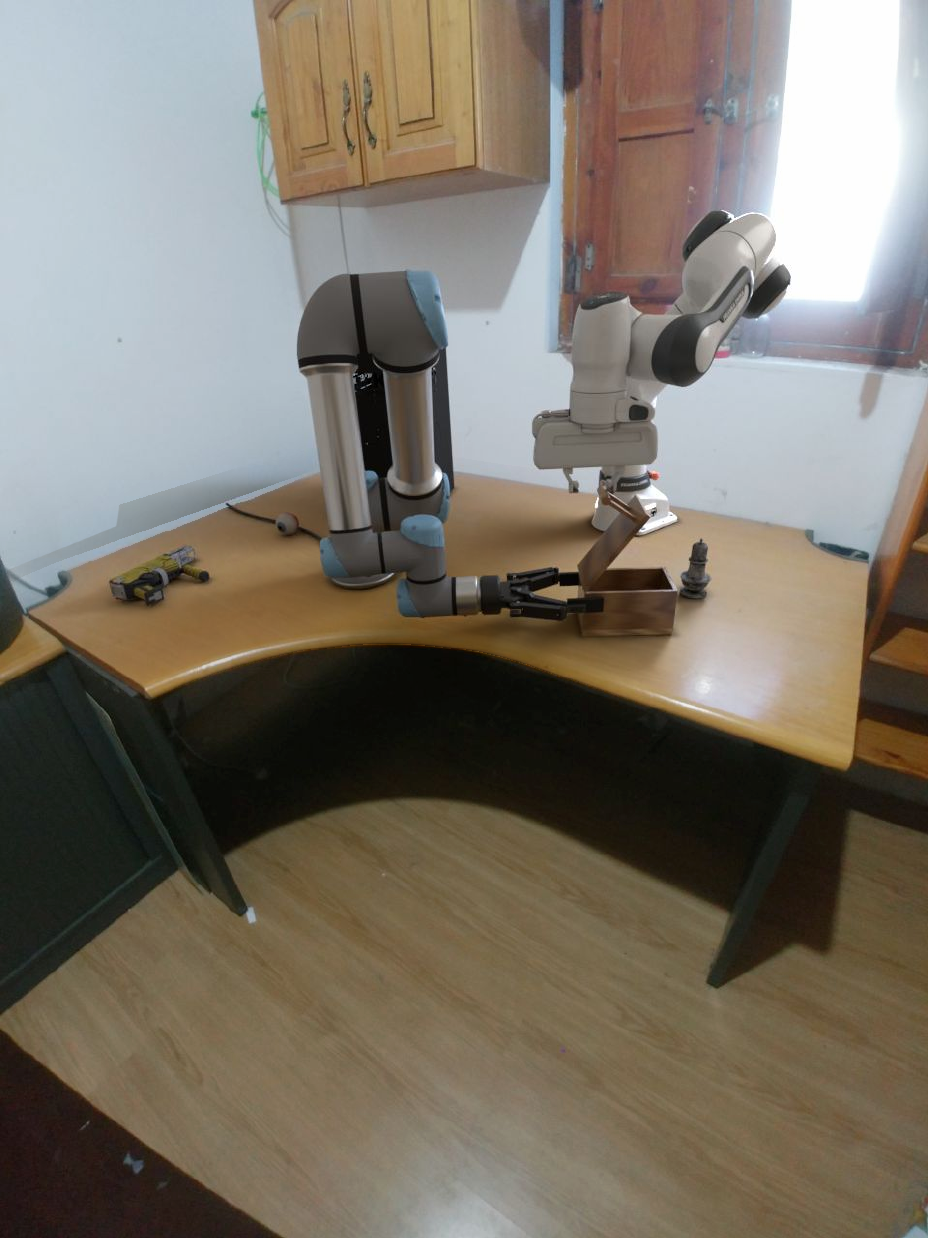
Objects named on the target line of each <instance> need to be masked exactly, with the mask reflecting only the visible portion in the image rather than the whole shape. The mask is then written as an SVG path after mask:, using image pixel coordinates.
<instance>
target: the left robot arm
mask: <svg viewBox="0 0 928 1238" xmlns="http://www.w3.org/2000/svg"><path fill="white" fill-rule="evenodd" d="M442 299H443V298H442V294H441V289H440V284H439V280H438V278H437V276H436V275H435V274H434V273H433V272H432V271H430V270H411V269H410V268H409V269H408V268H407V269H406V270H395V271H383V272H382V271H380V272H366V273H341V274H337V275H334V276H332V277H330V278H328V279H327V280H325V281H324V282H323V283H322V284H320V286H318V287H317V288H316V290H315V291H314V292H313V293H312V295H311V297H310V298H309V300H308V301H307V304H306V305H305V307H304V309H303V313H302V316H301V318H300V322H299V326H298V331H297V335H296V337H297V338H296V359H297V366H298V372H299V373H300V374H301V375H302V376H303V377H305V379H306V382H307V390H308V397H309V404H310V409H311V411H310V412H311V417H312V423H313V430H314V437H315V443H316V450H317V458H318V465H319V470H320V479H321V484H322V485H321V486H322V491H323V496H324V497H323V498H324V499H323V500H324V506H325V511H326V518H327V527H328V532H329V533H328V534H329V536H327V537H323V538H322V537H321V536H320V535H318V534H316V533H315V532H314V531H311V530H309V529H307V528H304V527H302V526H299V527H298V529H297V530H299V531H302V532H304V533H306V534H309V535H310V536H313V538H316V539H317V540H319V557H320V563H321V569H322V572H323V574H324V575H325V577H326V578H329V579H330V581H331V583H332V584H334V585H335V586H336V587H339V588H343V589H345V590H346V589H348V590H365V589H371V588H375V587H379V586H382V585H384V584H387V583H388V582H390V581H391V580H392V579H394V578H395V577H396V575H397V574H398V573H399V574H400V573H405V576H406V577H405V578H400V579H399V580H398V581H397V583H396V603H397V610H398V613H399V615H400V616H401V617H403V618H413V619H415V618H416V619H417V618H418V619H419V618H420V619H426V618H442V617H443V618H444V617H465V618H466V617H468V616H478V615H479V614H480V613H481V615H483V616H497V615H498V616H499V615H501V613H502V609H507V610H509V617H510V618H513V619H516V618H527V619H537V620H547V621H556V622H565V621H566V620H568V615H570V614H578V613H595V612H603V608H604V597H592V598H578V597H570V598H566V600H562V599H557V598H552V597H549V596H543V595H538V594H535V592H538V591H540V590H544V589H547V588H550V587H553V586H555V585H558V586H559V588H560V587H578V579H579V572H578V571H564V572H563V571H561V572H560V568H559V567H557V566H555V567H553V566H550V567H543V568H538V569H531V570H526V571H520V572H507V573H506V576H505V578H506V579H505V580H504V581H501V577H500V575H498V574H491V575H488V574H487V575H486V574H485V575H482V576H480V578H478V576H477V575H464V576H448V575H447V561H446V541H445V536H444V527H443V525H445V523H447V520H448V518H449V513H450V506H451V504H450V502H451V501H450V498H451V497H450V495H451V493H450V488H449V480H448V477H447V475H446V474H445V473H442V472H441V469H440V468H439V466H438V465H437V464H436V463H435V461H434V434H433V406H432V378H431V370H432V367H433V366H434V365H435V364H436V363H437V362H438V360H439V349H440V350H443V348H446V349H447V348H448V346H449V335H448V328H447V323H446V322H447V321H446V316H445V309H444V305H443V304H444V303H443V300H442ZM369 353H372V356H373V361H374V363H375V364H376V366H377V367H379V368H380V369H381V370H383V375H384V385H385V394H386V403H387V413H388V422H389V431H390V440H391V450H392V459H393V465H392V466H391V468H390V469H389V471H388V475H387V477H386V478H378V476H377V475H376V473H375V472H374V471H365V469H364V461H363V453H362V445H361V437H360V429H359V421H358V413H357V405H356V397H355V389H354V383H355V380H354V381H353V379H354V378H353V375H355V374H354V373H355V372H356V370H357V369H358V363H357V354H369ZM225 505H226V506H227V507H228V508H229V509H231V510H232V511H235V512H236V513H239V514H241V515H244V516H247V517H250V518H254V519H258V520H262V521H267V522H269V523H270V522H271V523H274V524H276V519H273V518H268V517H265V516H260V515H257V514H252V513H249V512H246V511H244V510H240V509H238V508H236V507H234V506H233V505H231V504H230V503H229V502H225ZM396 530H400V531H396Z"/></svg>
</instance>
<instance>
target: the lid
mask: <svg viewBox="0 0 928 1238" xmlns="http://www.w3.org/2000/svg"><path fill="white" fill-rule="evenodd" d="M596 491H597V495H598V497H600V499H601V502H602V504H603V505H610V506H611V507H613V508H614V509H616V510H617V511H619V512H620V514H619V515H618V516H617V517H616V519H615V520H614V521H613V522H612V524H611V525H610V526H609V527H608V528H607V530H606V531H603V533H602V535H600V537H599V538H598V539H597V540H596V542H595V543H594V544H593V545H592V546H591V548H590V549H589V550H588V551H587V552H586V554H585V555H584V556H583V557H582V559H581V560H580V561H579V562H578V564H576V566H577V567H576V568H577V572H579V576H580V580H581V585H582V589H583V590H584V591H586V592H587V591H588V590H589V589H590V588H591V586H592V585H593V584H594V583H595V582H596V581H597V579H598V578H599V577H600V576H601V575H602V574H603V572H604V571H605V570H606V569H607V568H609V567H610V566H611V565H612V563H613V562H614V561H615V560H616V559H617V558H618V556H619V555H620V554H621V553H622V551H623V550H624V549H625V548H626V547H627V546H628V545H629V544H630V542H631V541H632V540H633V539H634V538H635V536H637V535H636V534H637V533H638V532H639V530H640V529H641V528H642V527H643V526H644V525H645V523H646V522H647V521H648V520H649V519H650V518H651V517H650V515H649V513H648V511H647V510H646V508H645V506H644V504H643V502H642V501H641V499H640V497H639V496H637V495H636V494H635V496H634V497H633V498H632V499H631V500H630V502H629V503H628V504H625V503H624V502H622V501H621V500H619V499H618V498H617V497H615V496H614V495H612V494H611V493H609V492H607V490H606V487H605V486H603V485H601V486H599V485H598V487H597V488H596ZM611 500H613V501H614V502H616V503H617V504H619V505H620V506H622V507H623V508H624V509H623V508H621V507H620V506H618V505H617V504H615V503H614V502H612V501H611Z"/></svg>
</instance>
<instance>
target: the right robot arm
mask: <svg viewBox="0 0 928 1238" xmlns="http://www.w3.org/2000/svg"><path fill="white" fill-rule="evenodd" d="M777 243H778V232H777V228H776V226H775V224H774V222H773V221H772V220H771V219H770V218H769V217H768V216H767V215H765V214H762V213H759V212H749V213H745V214H743V215H740V216H737V217H736V218H734V214H731V213H730V212H728V211H725V210H723V209H717V210H716V209H715V210H711V211H710V212H709V213H707V214H706V215H705V216H703V217H702V218H700V219H699V220H697V222H695V224H694V225H693V226H692V228H691V229H690V230H689V232H688V234H687V235H686V239H685V240H684V243H683V245H682V249H681V250H682V251H681V256H682V259H683V261H684V265H683V267H682V274H681V285H682V286H681V287H682V290H683V291H682V293H681V294H680V295H679V296H678V297H677V299H676V300H674V302H673V303H672V304H671V306H670V307H669V308H668V309H667V310H666V311H665V313H664V314H655V313H654V314H653V313H652V314H649V313H643V312H642V311H640V310H638V309H636V308H635V307H634V306H632V304H631V300H630V299H631V298H630V296H629V294H628V293H626V292H623V291H607V292H602V293H596V294H593V295H590V296H588V297H586V298H584V299H583V300H582V301H581V302H580V303H579V304H578V307H577V309H576V313H575V317H574V323H573V327H572V337H571V350H570V351H571V355H570V362H571V366H572V379H571V382H570V386H569V406H568V407H569V408H567V409H555V410H549V409H546V410H542V411H541V412H540V413H538V414H536V415H535V416H534V418H532V422H531V434H532V436H533V438H534V444H533V454H532V461H533V464H534V465H535V466H536V468H537V469H538V470H542V471H543V470H561V469H562V473H563V475H564V477H565V478H566V480H567V482H568V493H569V494H579V488H580V483H579V481H578V480H573V479H572V476H571V475H573V474H574V469H583V468H600V470H599V474H598V487H599V486H601V485H603V486H605V487H606V490H607V492H609V493H611V494H612V495H614V496H615V497H617V498H618V499H619V500H621V501H622V502H624V503H625V504H628V503H629V502H630V500H631V499H632V498H633V497H634V496H635V494H636V495H637V496H639V497H640V499H641V501H642V502H643V504H644V506H645V508H646V510H647V511H648V513H649V515H650V517H651V518H650V519H649V520H648V521H647V522H646V523H645V525H644V526H643V527H642V528H641V529H640V530H639V532H638V533H637V534H636V535H635V536H645V535H646V534H650V533H652V532H654V531H657V530H660V529H662V528H665V527H668V526H670V525H672V524H675V523H677V522H678V516H677V515H676V514H675V513H674V512H672V511H670V503H669V502H670V501H669V498H668V497H667V496H666V495H665V494H664V493H663V492H661V491H660V490H659V489H658V488H656V487H655V486H654V485H652V483H651V480H653V481H658V479H659V478H660V473H659V472H657V471H654V470H651V471H649V470H648V469H647V466H648V465H652V464H654V462H655V461H656V460H657V458H658V452H659V451H658V450H659V448H658V447H659V434H658V427H657V425H656V424H655V423H654V419H655V416H656V407H657V401H658V400H657V399H658V395H660V393H661V392H663V390H664V389H665V388H666V387H667V386H668V385H670V386H673V387H680V388H686V387H690V386H692V385H693V384H695V383H696V382H697V381H699V380H700V379H701V378H702V377H703V376H704V375H706V373H707V372H708V371H709V370H710V367H712V365H713V362H714V360H715V357H716V356H717V353H718V350H719V349H720V347H721V346H722V344H723V343H724V342H725V340H726V339H727V337H728V336H729V334H730V333H731V332H732V330H733V329H734V327H735V326H736V324H737V323H738V322H739V320H740V318H741V317H742V318H744V319H747V320H754V319H759V318H760V317H762V316H765V315H766V314H768V313H770V312H771V311H773V310H774V309H775V308H776V307H777V306H779V304H780V303H781V302H782V300H783V299H784V297H785V296H786V294H787V292H788V289H789V287H790V286H791V285H792V281H793V280H792V279H793V274H792V272H791V270H790V269H789V267H788V266H787V264H786V262H782V261H781V260H780V258H779V257H778V256H777V254H776V253H775V250H776V248H777ZM611 501H612V502H614V501H613V500H611ZM614 503H615V504H617V503H616V502H614ZM617 505H618V506H620V505H619V504H617ZM594 507H595V511H594V514H593V517H592V520H591V525H592V526H593V527H594V528H595V529H597V530H599V531H601V532H605V531H606V530H607V528H608V527H609V526H610V525H611V524H612V522H613V521H614V520H615V519H616V517H617V516H618V515H619V514H620V512H619V511H617V510H616V509H614V508H613V507H611V506H610V505H603V504H602V502H601V499H600V497H599V496H597V500H596V503H595V505H594ZM620 507H621V508H623V507H622V506H620ZM623 509H624V508H623Z"/></svg>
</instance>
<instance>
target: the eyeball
mask: <svg viewBox="0 0 928 1238" xmlns="http://www.w3.org/2000/svg"><path fill="white" fill-rule="evenodd" d="M275 520H276V523H275V527H276V529H277V530H278V531H279V532H280V533H281V534H282V535H285V536H286V535H287V536H289V535H293V534H295V533H296V532H297V531H298V530H299V529H298V527H300V526H299V525H300V522H299V519H298V517H297V516H296V515H295V514H294V513H292V512H287V511H286V512H282V513H280V514H279V515H278V516H277V517H276V519H275Z"/></svg>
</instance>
